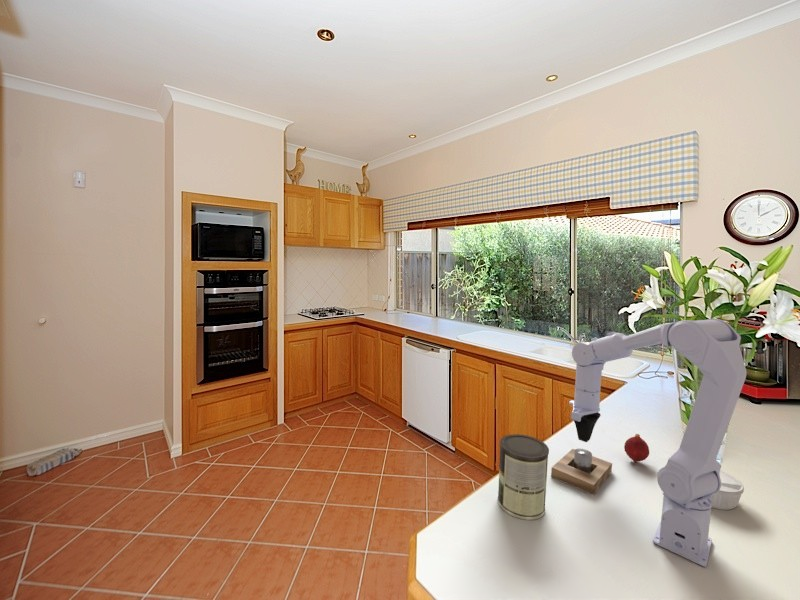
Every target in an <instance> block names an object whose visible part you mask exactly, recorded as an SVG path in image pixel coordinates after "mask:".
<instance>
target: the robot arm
mask: <svg viewBox="0 0 800 600" xmlns="http://www.w3.org/2000/svg"><path fill="white" fill-rule="evenodd" d="M741 339H742V337H741V335H740V334H739V333H738V332H737V331H736V330H735V329H734V328H733V326H731V325H730V323H728V322H727V321H725V320H722V319H719V318H707V319H698V320H691V319H690V320H688V319H685V320H683V319H682V320H680V321H677V322H676V321H675V322H668V323H662V324H661V323H660V324H658V325H655V326H653V327H650V328H647V329H644V330H641V331H638V332H635V333H632V334H629V335H626V334H624V333H622V332H616V331H610V332H606V336H603V337H600V338H598V337H593V338H591V339H590V340H591V341H590V342H584V341H582V342H581V341H579V342H578V343H576V344H574V346H573V347H572V350H571V356H572V358H573V361H574V362H575V363H576V365H575V367H576V368H575V381H574V382H575V384H574V395H573V396H574V397H573V398H574V399H573V400H569V402H568V405H571V406H572V411H571V412H570V416H571V417H570V420H572V421H573V422H574V425H575V428H576V433H577V438H578V440H579V441H581V442H585V443H588V442H589V441H590V440H591V438H592V434H593V431H594V428H595V426H596V424H597V421H598V420H599V419H600V417H601V413H600V412H601V406H600V405H601V403H600V402H601V384H602V373H603V372H602V371H603V370H604V366H605V364H606V363H608V362H612V361H615V360H621V359H625V358H628V357H630V356H631V355H632V353H633V350H637V349H638V350H639V349H641V348H642V349H643V348H647V347H650V346H657V345H660V344H662V345H664V346H665V347H672V348H673V349H674V350H675V351H676V352H677V353H679V354H680V355H681V356H683V357H684V358H686V360H688V361H689V362H690V363H691V364H693V365H694V366H696V367H697V369H698V370H699V371H700V373H701V374H702V375H703V376H702V378H701V381H700V385H699V388H698V391H697V395H696V397H695V400H694V403H693V406H692V409H691V412H690V415H689V418H688V421H687V423H686V427H685V429H684V433H683V436H682V439H681V442H680V445H679V448H678V449H677V450H676V451H675V452H674V453H673V454H671V456H670V457H668V459H667V462H666V464H665V466H663V467H660V469H659V470H658V472H657V474H656V479H657V483H658V486H659V488H660V490H661V491H662V495H663V497H662V500H663V501H662V509H661V518H660V523H659V525H658V527H657V530H656V532H655V534H654V535H653V539H652V543H654V544H655V545H657V546H659V547H662V548H663V549H666V550H668V551H670V552H672V553H674V554H676V555H679V556H680V557H683V558H685V559H687V560H689V561H691V562H693V563H695V564H697V565H700V566H702V567H704V568H705V567H707V566H708V561H709V556H710V552H711V548H712V543H713V541H712V540H713V539H712V538H710V537H709V535H710V534H709V532H710V526H711V525H710V524H711V513H712V507H711V506H712V494H713V493H716V492H718V491H719V490H720V488H721V479H720V470H721V468H722V465H721V463H720V462H719V461H718V460H717V457H718V455H719V452H720V449H721V446H722V444H723V441H724V439H725V435H726V433H727V430H728V427H729V425H730V422H731V420H732V416H733V414H734V411H735V408H736V406H737V403H738V401H739V397H740V394H741V392H742V390H743V388H744V387H743V386H744V383H745V382H746V379H747V372H748V371H747V368H746V365H745V361H744V358H743V355H742V350H741V347H740V345H741Z"/></svg>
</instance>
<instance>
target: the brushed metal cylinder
mask: <svg viewBox="0 0 800 600" xmlns="http://www.w3.org/2000/svg"><path fill="white" fill-rule="evenodd" d="M592 456H593V453H592V452H591V451H589V450H588V449H584V448H575V454H574V468H576V469H579V470H581V471H584V472H586V473H589V474H591V464H592Z"/></svg>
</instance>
